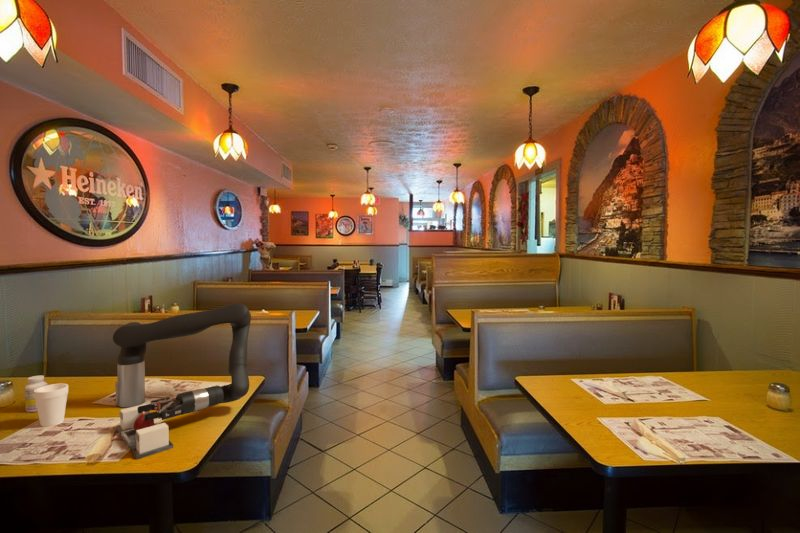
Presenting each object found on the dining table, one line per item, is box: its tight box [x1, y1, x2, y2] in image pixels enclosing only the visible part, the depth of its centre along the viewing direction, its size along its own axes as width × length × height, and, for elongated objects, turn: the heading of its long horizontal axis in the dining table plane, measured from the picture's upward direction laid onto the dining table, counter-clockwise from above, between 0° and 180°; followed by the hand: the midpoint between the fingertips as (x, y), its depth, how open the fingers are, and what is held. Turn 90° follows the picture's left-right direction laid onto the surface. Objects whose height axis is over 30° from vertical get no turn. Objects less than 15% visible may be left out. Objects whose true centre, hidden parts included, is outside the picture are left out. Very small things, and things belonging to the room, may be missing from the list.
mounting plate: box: [115, 421, 174, 460], centre depth 132 cm, size 28×11×2 cm, turn 46°
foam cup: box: [34, 383, 69, 428], centre depth 142 cm, size 10×9×13 cm
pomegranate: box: [133, 411, 155, 431], centre depth 132 cm, size 6×6×8 cm
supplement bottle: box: [24, 374, 49, 413], centre depth 153 cm, size 7×7×13 cm
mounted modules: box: [119, 403, 170, 454], centre depth 132 cm, size 26×8×6 cm, turn 46°
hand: (141, 414), depth 131 cm, fingers open, 8 cm apart
